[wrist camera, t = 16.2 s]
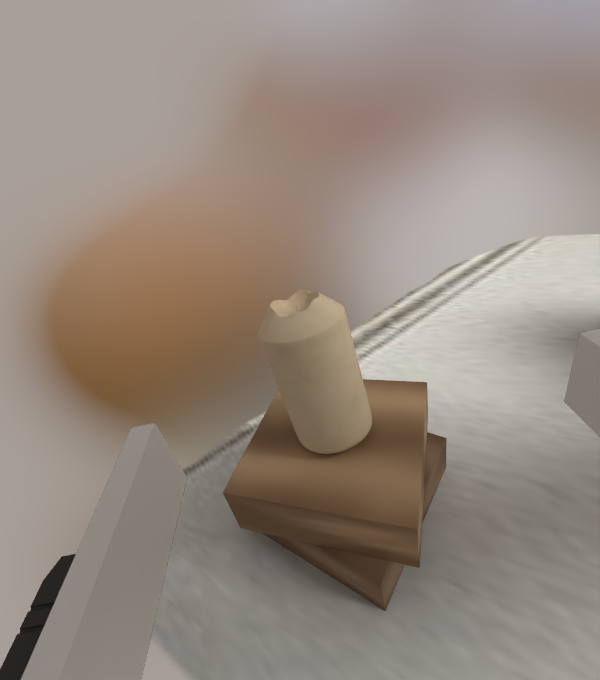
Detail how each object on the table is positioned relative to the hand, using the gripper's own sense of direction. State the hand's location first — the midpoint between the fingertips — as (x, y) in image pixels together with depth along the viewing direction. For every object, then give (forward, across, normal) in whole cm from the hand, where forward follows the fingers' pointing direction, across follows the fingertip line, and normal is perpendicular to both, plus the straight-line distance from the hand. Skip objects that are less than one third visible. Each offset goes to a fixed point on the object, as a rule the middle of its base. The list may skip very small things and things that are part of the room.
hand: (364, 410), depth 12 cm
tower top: (+10, -1, -15) cm, 18 cm away
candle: (+10, -1, -11) cm, 15 cm away
